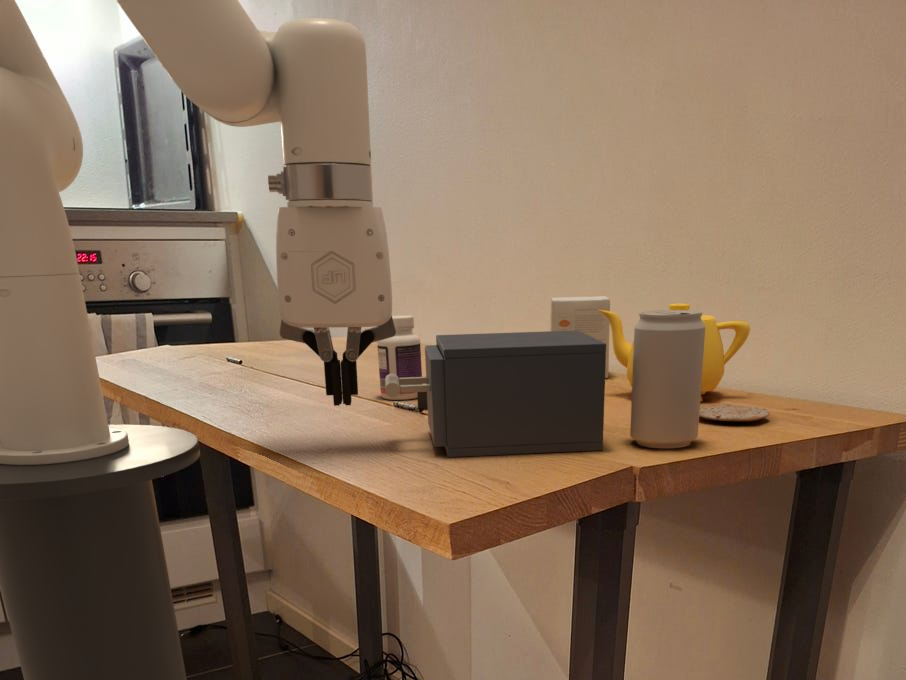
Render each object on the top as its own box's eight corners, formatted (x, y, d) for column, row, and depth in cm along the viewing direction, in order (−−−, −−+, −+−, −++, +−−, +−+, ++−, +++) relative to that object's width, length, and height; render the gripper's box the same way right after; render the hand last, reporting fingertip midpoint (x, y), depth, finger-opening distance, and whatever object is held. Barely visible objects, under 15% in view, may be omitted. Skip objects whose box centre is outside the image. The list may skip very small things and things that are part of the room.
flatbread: (678, 416, 98) (679, 407, 98) (729, 408, 102) (730, 399, 101) (734, 428, 92) (735, 418, 92) (785, 419, 95) (786, 409, 95)
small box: (605, 373, 131) (607, 295, 127) (608, 378, 126) (611, 298, 121) (549, 374, 131) (550, 297, 127) (551, 379, 126) (551, 299, 122)
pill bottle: (428, 393, 117) (424, 314, 113) (416, 400, 113) (411, 318, 109) (388, 393, 119) (383, 314, 115) (375, 400, 114) (369, 318, 110)
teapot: (588, 401, 109) (590, 307, 105) (602, 387, 119) (605, 300, 114) (742, 405, 104) (752, 306, 100) (744, 390, 114) (752, 300, 110)
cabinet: (447, 457, 83) (443, 349, 80) (439, 430, 95) (435, 335, 91) (602, 450, 85) (606, 343, 81) (576, 425, 96) (578, 330, 92)
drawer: (388, 448, 83) (383, 361, 80) (387, 425, 94) (382, 347, 90) (577, 440, 85) (579, 354, 81) (556, 418, 95) (557, 340, 92)
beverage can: (674, 453, 83) (683, 315, 78) (616, 444, 87) (621, 312, 82) (709, 441, 87) (720, 309, 82) (652, 433, 91) (659, 307, 86)
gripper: (236, 187, 75) (259, 411, 83) (416, 188, 76) (422, 408, 84) (248, 192, 82) (268, 398, 89) (413, 192, 83) (419, 395, 91)
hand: (342, 402), depth 87 cm, fingers closed
